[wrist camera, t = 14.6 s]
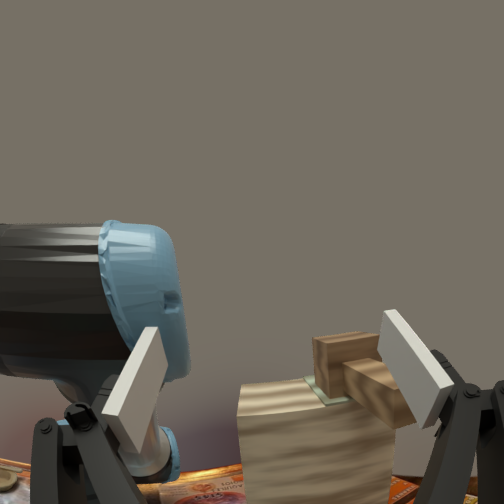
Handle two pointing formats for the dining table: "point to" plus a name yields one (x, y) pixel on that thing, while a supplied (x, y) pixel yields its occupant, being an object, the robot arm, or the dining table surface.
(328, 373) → the mallet
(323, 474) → the stand
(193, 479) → the dining table surface
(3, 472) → the tableware set
